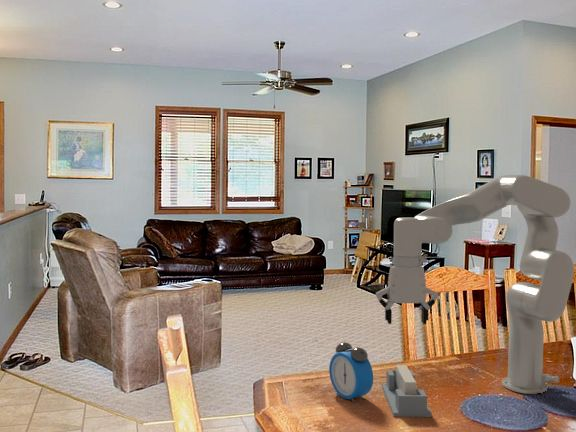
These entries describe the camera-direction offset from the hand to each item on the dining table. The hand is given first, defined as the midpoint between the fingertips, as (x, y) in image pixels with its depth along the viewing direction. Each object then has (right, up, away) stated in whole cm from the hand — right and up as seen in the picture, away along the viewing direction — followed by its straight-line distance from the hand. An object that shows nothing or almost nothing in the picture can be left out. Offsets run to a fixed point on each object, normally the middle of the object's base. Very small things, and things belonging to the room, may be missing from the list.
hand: (406, 322), depth 154 cm
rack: (0, -22, +1) cm, 22 cm away
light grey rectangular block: (0, -21, +1) cm, 21 cm away
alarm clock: (-15, -22, +4) cm, 27 cm away
